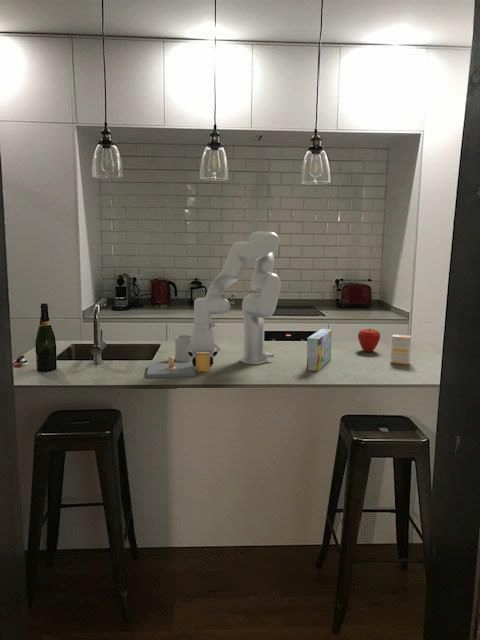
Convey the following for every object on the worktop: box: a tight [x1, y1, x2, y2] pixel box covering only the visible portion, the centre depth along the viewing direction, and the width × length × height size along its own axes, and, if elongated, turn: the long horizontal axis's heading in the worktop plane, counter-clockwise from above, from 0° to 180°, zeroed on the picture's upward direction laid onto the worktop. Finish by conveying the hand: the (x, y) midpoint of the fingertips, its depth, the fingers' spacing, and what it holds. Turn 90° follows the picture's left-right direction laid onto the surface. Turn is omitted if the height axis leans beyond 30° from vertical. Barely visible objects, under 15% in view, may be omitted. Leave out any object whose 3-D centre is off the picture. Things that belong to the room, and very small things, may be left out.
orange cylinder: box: [195, 352, 211, 372], centre depth 220 cm, size 6×6×7 cm
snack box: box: [306, 328, 332, 372], centre depth 227 cm, size 21×6×15 cm, turn 154°
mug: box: [174, 334, 193, 363], centre depth 236 cm, size 12×8×11 cm
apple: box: [357, 328, 381, 353], centre depth 253 cm, size 11×11×12 cm
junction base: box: [146, 355, 196, 379], centre depth 216 cm, size 20×16×6 cm
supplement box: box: [390, 333, 412, 366], centre depth 232 cm, size 8×5×13 cm, turn 65°
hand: (202, 365), depth 220 cm, fingers closed on orange cylinder, 6 cm apart
